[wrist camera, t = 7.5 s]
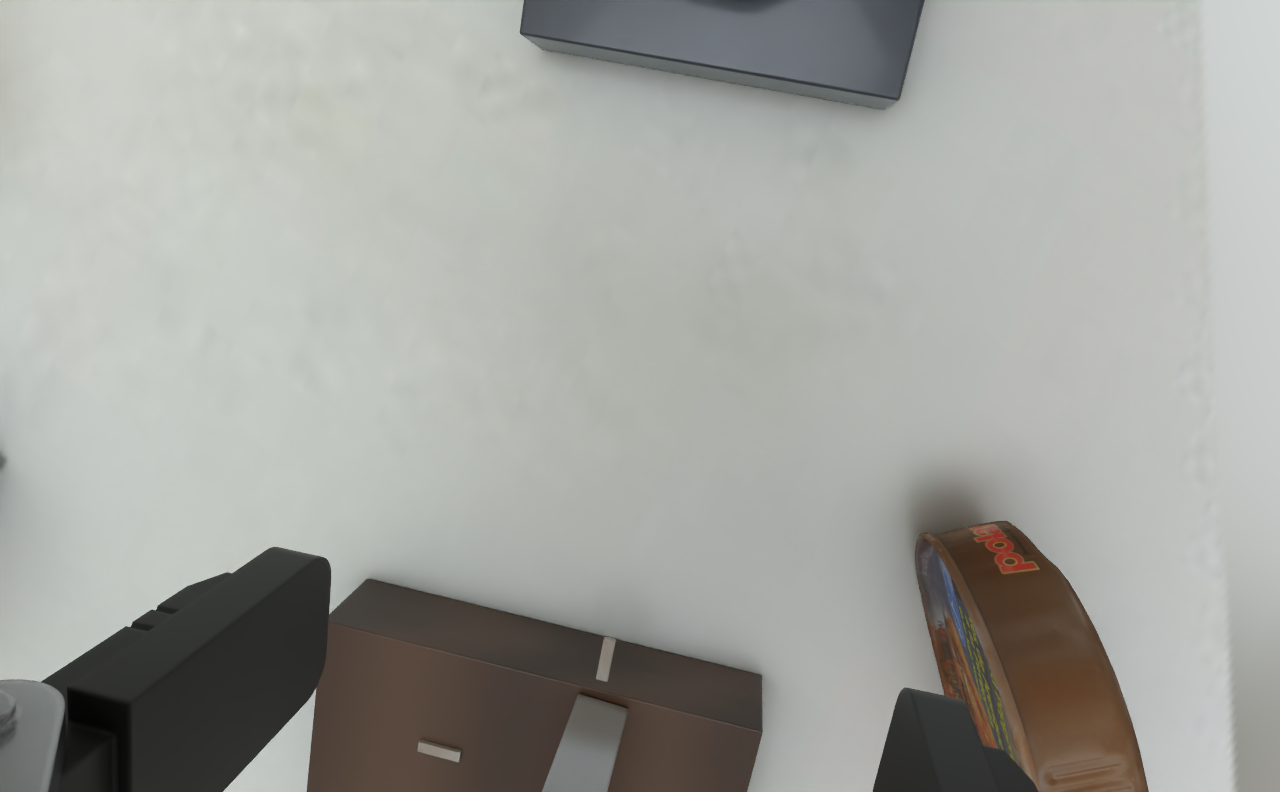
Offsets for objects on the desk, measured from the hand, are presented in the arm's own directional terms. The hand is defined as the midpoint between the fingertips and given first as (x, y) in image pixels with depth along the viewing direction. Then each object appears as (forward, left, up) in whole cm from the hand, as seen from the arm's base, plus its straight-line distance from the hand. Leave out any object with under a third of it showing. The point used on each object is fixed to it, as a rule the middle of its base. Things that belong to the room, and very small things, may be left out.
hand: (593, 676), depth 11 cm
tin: (-12, +7, -15) cm, 20 cm away
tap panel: (+3, +14, -15) cm, 20 cm away
